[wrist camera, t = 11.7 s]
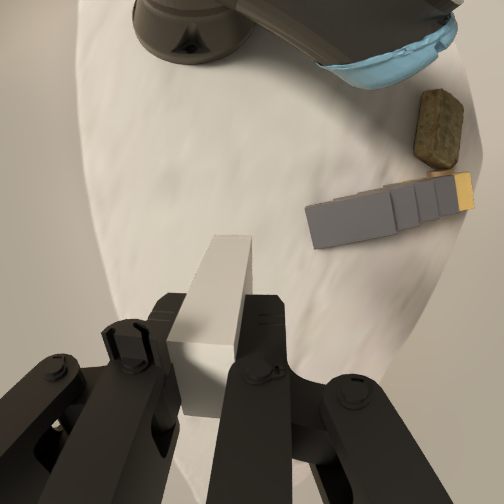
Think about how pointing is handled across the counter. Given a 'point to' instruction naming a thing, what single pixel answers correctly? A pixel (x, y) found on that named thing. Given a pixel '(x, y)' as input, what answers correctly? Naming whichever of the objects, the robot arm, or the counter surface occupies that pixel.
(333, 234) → the domino
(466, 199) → the domino
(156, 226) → the counter surface
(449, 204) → the domino
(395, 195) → the domino
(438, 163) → the stone block
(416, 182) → the domino
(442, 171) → the block
